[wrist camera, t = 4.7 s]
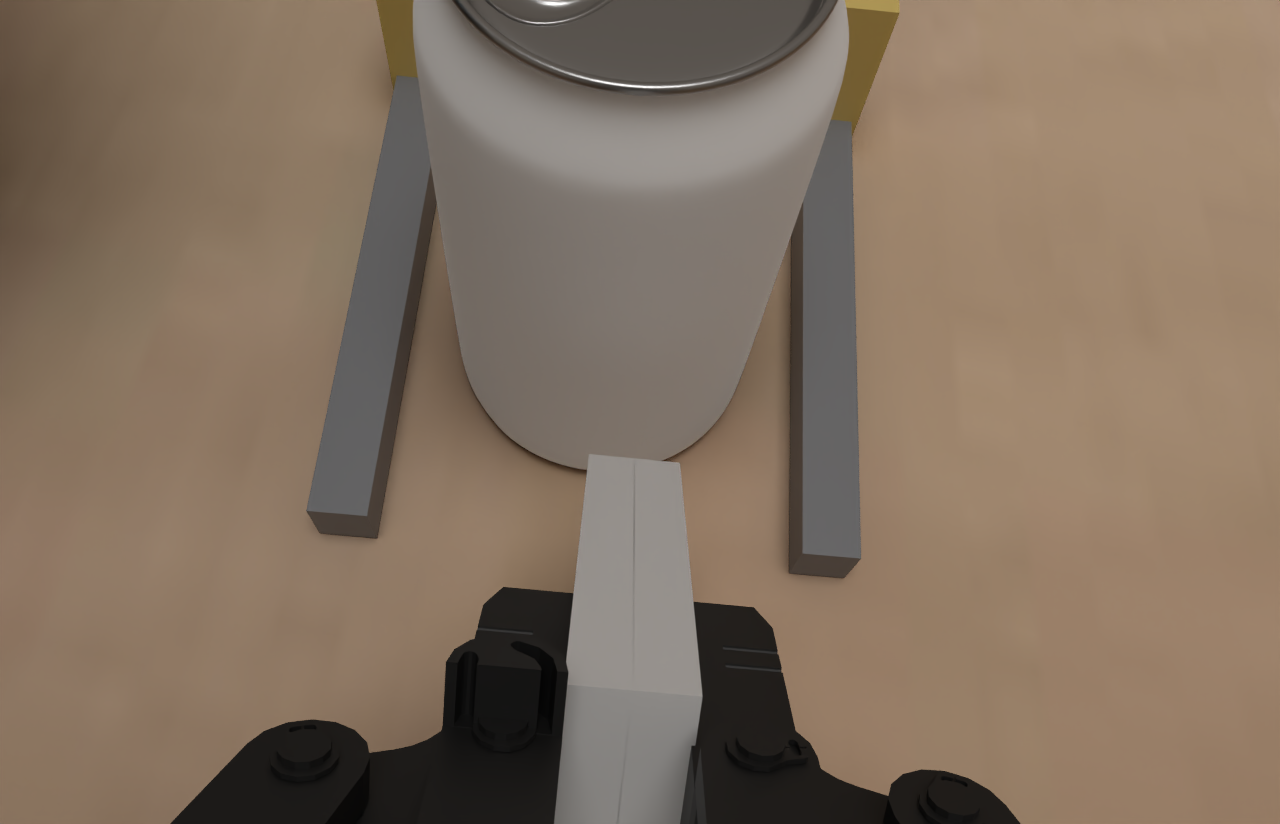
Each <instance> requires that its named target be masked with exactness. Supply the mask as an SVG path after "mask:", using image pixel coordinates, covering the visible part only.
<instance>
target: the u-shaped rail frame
mask: <svg viewBox="0 0 1280 824" xmlns="http://www.w3.org/2000/svg"><path fill="white" fill-rule="evenodd" d="M376 1H377V6H378V12H379V17H380V22H381V27H382V32H383V38H384V43H385V48H386V53H387V59H388V64H389V69H390V74H391V80H392V85H393V90H394V91H393V96H392V101H391V106H390V111H389V115H388V120H387V125H386V130H385V135H384V139H383V144H382V149H381V154H380V159H379V164H378V168H377V173H376V178H375V183H374V188H373V192H372V197H371V202H370V207H369V212H368V217H367V221H366V226H365V231H364V236H363V241H362V245H361V250H360V255H359V260H358V265H357V270H356V274H355V279H354V284H353V289H352V294H351V298H350V303H349V308H348V313H347V318H346V323H345V327H344V332H343V337H342V342H341V347H340V351H339V356H338V361H337V366H336V371H335V375H334V380H333V385H332V390H331V395H330V400H329V404H328V409H327V414H326V419H325V424H324V428H323V433H322V438H321V443H320V448H319V453H318V457H317V462H316V467H315V472H314V477H313V481H312V486H311V491H310V496H309V501H308V506H307V510H306V511H307V513H308V514H309V516H310V518H311V519H312V521H313V523H314V524H315V526H316V528H317V529H318V531H319V533H323V534H335V535H346V536H358V537H370V538H377V536H378V530H379V524H380V519H381V513H382V507H383V502H384V496H385V490H386V485H387V479H388V473H389V468H390V462H391V456H392V451H393V445H394V439H395V434H396V428H397V422H398V417H399V411H400V405H401V399H402V394H403V388H404V382H405V377H406V371H407V365H408V360H409V354H410V348H411V343H412V337H413V331H414V326H415V320H416V314H417V309H418V303H419V297H420V292H421V286H422V280H423V275H424V269H425V263H426V258H427V252H428V246H429V241H430V235H431V229H432V224H433V218H434V212H435V207H436V195H435V189H434V182H433V176H432V169H431V163H430V156H429V149H428V143H427V136H426V129H425V123H424V116H423V109H422V102H421V95H420V88H419V81H418V74H417V67H416V58H415V49H414V40H413V1H414V0H376ZM845 4H846V9H847V17H848V26H849V47H848V56H847V62H846V67H845V72H844V77H843V81H842V85H841V88H840V92H839V95H838V98H837V101H836V105H835V108H834V111H833V115H832V118H831V120H830V123H829V126H828V129H827V132H826V135H825V138H824V141H823V144H822V147H821V150H820V153H819V156H818V159H817V162H816V165H815V168H814V171H813V174H812V177H811V179H810V182H809V185H808V188H807V191H806V194H805V197H804V200H803V203H802V206H801V208H800V211H799V214H798V217H797V220H796V223H795V226H794V229H793V231H792V236H791V370H790V505H789V573H792V574H804V575H815V576H827V577H839V578H845V577H846V575H847V574H848V573H849V572H850V571H851V570H852V568H853V567H854V566H855V565H856V564H857V563H858V561H859V560H860V559H861V537H860V491H859V445H858V399H857V353H856V308H855V262H854V216H853V170H852V135H853V133H854V130H855V127H856V125H857V122H858V120H859V117H860V114H861V112H862V109H863V107H864V104H865V101H866V99H867V96H868V94H869V91H870V88H871V86H872V83H873V81H874V78H875V75H876V73H877V70H878V68H879V65H880V62H881V60H882V57H883V55H884V52H885V49H886V47H887V44H888V42H889V39H890V36H891V34H892V31H893V29H894V26H895V23H896V21H897V18H898V16H899V0H845Z"/></svg>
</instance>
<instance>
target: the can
mask: <svg viewBox="0 0 1280 824" xmlns="http://www.w3.org/2000/svg"><path fill="white" fill-rule="evenodd" d="M413 40H414V49H415V58H416V67H417V74H418V81H419V88H420V95H421V102H422V109H423V116H424V123H425V129H426V136H427V143H428V149H429V156H430V163H431V169H432V176H433V182H434V189H435V195H436V202H437V208H438V214H439V221H440V227H441V234H442V240H443V247H444V253H445V259H446V265H447V272H448V278H449V284H450V291H451V297H452V303H453V309H454V315H455V321H456V327H457V333H458V339H459V344H460V350H461V355H462V359H463V364H464V368H465V371H466V374H467V377H468V379H469V382H470V384H471V387H472V389H473V391H474V393H475V395H476V396H477V398H478V400H479V402H480V403H481V405H482V406H483V408H484V409H485V411H486V412H487V413H488V415H489V416H490V417H491V419H492V420H493V421H494V422H495V423H496V425H497V426H498V427H499V428H500V429H501V430H502V431H503V432H504V433H505V434H506V435H507V436H509V437H510V438H511V439H512V440H513V441H515V442H516V443H518V444H519V445H520V446H522V447H524V448H525V449H527V450H529V451H530V452H532V453H534V454H536V455H538V456H540V457H542V458H545V459H547V460H549V461H552V462H555V463H558V464H561V465H565V466H569V467H573V468H578V469H584V470H587V467H588V458H589V454H594V455H605V456H615V457H625V458H636V459H646V460H656V461H662V460H665V459H667V458H669V457H671V456H674V455H676V454H677V453H679V452H681V451H683V450H684V449H686V448H688V447H689V446H691V445H692V444H693V443H695V442H696V441H697V440H699V439H700V438H701V437H702V436H703V435H704V434H705V433H706V432H708V430H709V429H710V428H711V427H712V426H713V425H714V424H715V423H716V422H717V420H718V419H719V418H720V416H721V415H722V414H723V412H724V411H725V409H726V407H727V406H728V404H729V402H730V400H731V399H732V396H733V394H734V392H735V390H736V387H737V385H738V383H739V380H740V378H741V375H742V372H743V370H744V367H745V364H746V362H747V359H748V356H749V353H750V350H751V348H752V345H753V342H754V339H755V336H756V334H757V331H758V328H759V325H760V323H761V320H762V317H763V314H764V311H765V308H766V306H767V303H768V300H769V297H770V294H771V291H772V288H773V286H774V283H775V280H776V277H777V274H778V271H779V269H780V266H781V263H782V260H783V257H784V254H785V251H786V249H787V246H788V243H789V240H790V237H791V234H792V231H793V229H794V226H795V223H796V220H797V217H798V214H799V211H800V208H801V206H802V203H803V200H804V197H805V194H806V191H807V188H808V185H809V182H810V179H811V177H812V174H813V171H814V168H815V165H816V162H817V159H818V156H819V153H820V150H821V147H822V144H823V141H824V138H825V135H826V132H827V129H828V126H829V123H830V120H831V118H832V115H833V111H834V108H835V105H836V101H837V98H838V95H839V92H840V88H841V85H842V81H843V77H844V72H845V67H846V62H847V56H848V47H849V26H848V17H847V9H846V4H845V0H414V1H413Z"/></svg>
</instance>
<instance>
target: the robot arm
mask: <svg viewBox="0 0 1280 824" xmlns="http://www.w3.org/2000/svg"><path fill="white" fill-rule="evenodd" d="M171 824H1020V822H1019V821H1018V820H1017V819H1016V817H1015V816H1014V815H1013V814H1012V812H1011V811H1010V810H1009V809H1008V807H1007V806H1006V805H1005V804H1004V803H1003V802H1002V801H1001V800H1000V799H998V798H997V797H996V796H995V795H994V794H993V793H992V792H991V791H990V790H988V789H987V788H985V787H983V786H981V785H979V784H978V783H976V782H974V781H972V780H970V779H969V778H966V777H963V776H959V775H957V774H953V773H949V772H946V771H936V770H918V771H914V772H910V773H906V774H903V775H902V776H900V777H899V778H898V779H897V780H896V781H894V782H893V783H892V784H891V788H890V792H889V796H886V795H883V794H880V793H876V792H873V791H870V790H867V789H864V788H860V787H857V786H854V785H852V784H849V783H847V782H844V781H842V780H839V779H837V778H835V777H834V776H832V775H830V774H828V773H827V772H825V771H823V770H822V769H821V768H820V765H819V761H818V757H817V755H816V753H815V752H814V750H813V748H812V746H811V744H810V743H809V742H808V741H807V740H806V739H804V738H803V737H802V736H801V735H800V734H799V733H797V732H796V731H795V726H794V722H793V717H792V713H791V708H790V704H789V699H788V695H787V690H786V686H785V681H784V677H783V673H781V664H780V659H779V655H778V654H777V646H776V641H775V637H774V632H773V628H772V627H771V626H770V625H769V624H768V623H767V621H766V620H765V619H764V618H763V617H762V616H761V615H760V614H759V613H758V612H757V611H756V609H755V608H754V607H743V606H733V605H722V604H711V603H700V602H693V593H692V583H691V573H690V562H689V552H688V542H687V531H686V521H685V511H684V501H683V490H682V480H681V470H680V463H677V462H667V461H656V460H646V459H636V458H625V457H615V456H605V455H594V454H589V458H588V467H587V476H586V485H585V495H584V504H583V513H582V522H581V531H580V540H579V549H578V558H577V567H576V576H575V585H574V594H573V593H563V592H552V591H541V590H530V589H519V588H508V587H503V588H502V589H501V590H499V591H498V592H497V593H496V594H495V595H494V596H493V597H491V598H490V599H489V600H488V601H487V602H486V603H485V604H484V605H483V609H482V612H481V616H480V620H479V624H478V630H477V631H476V635H475V639H472V640H469V641H468V642H466V643H464V644H463V645H461V646H459V647H458V648H456V649H454V651H453V652H452V654H451V655H450V657H449V658H448V660H447V661H446V675H445V694H444V713H443V727H442V731H441V732H439V733H438V734H436V735H434V736H433V737H431V738H430V739H428V740H426V741H423V742H420V743H418V744H415V745H413V746H409V747H404V748H399V749H395V750H388V751H380V752H373V753H369V750H368V745H367V742H366V741H365V740H364V739H363V738H362V737H361V736H360V735H359V734H358V733H357V732H356V731H355V730H353V729H351V728H348V727H346V726H344V725H341V724H339V723H336V722H330V721H321V720H304V721H296V722H288V723H285V724H282V725H279V726H277V727H274V728H271V729H269V730H266V731H264V732H263V733H261V734H260V735H258V736H257V737H256V738H254V739H253V740H252V741H250V742H249V743H247V744H246V745H245V746H244V747H243V749H242V750H241V751H240V752H239V753H238V754H237V755H236V756H235V757H234V758H233V759H232V760H231V761H230V762H229V763H228V764H227V765H226V766H225V767H224V768H223V769H222V770H221V771H220V772H219V774H218V775H217V776H216V777H215V778H214V779H213V780H212V781H211V782H210V783H209V784H208V785H207V786H206V787H205V788H204V789H203V790H202V791H201V792H200V793H199V794H198V795H197V796H196V797H195V799H194V800H193V801H192V802H191V803H190V804H189V805H188V806H187V807H186V808H185V809H184V810H183V811H182V812H181V813H180V814H179V815H178V816H177V817H176V818H175V819H174V820H173V821H172V822H171Z"/></svg>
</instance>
